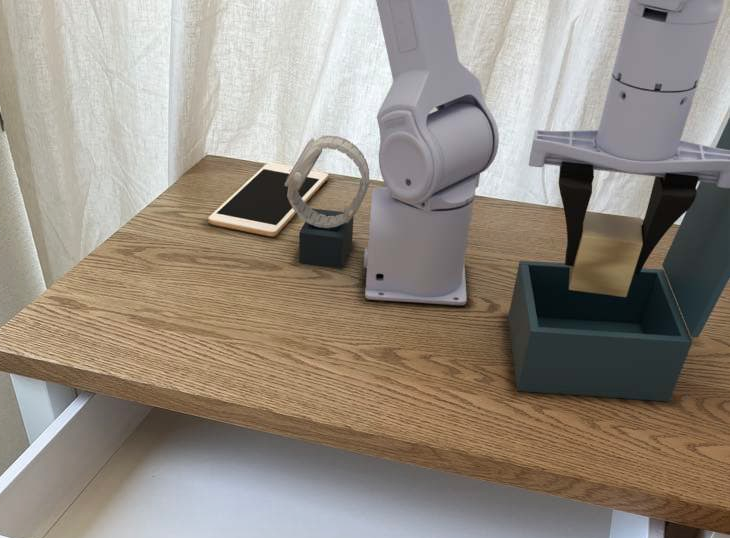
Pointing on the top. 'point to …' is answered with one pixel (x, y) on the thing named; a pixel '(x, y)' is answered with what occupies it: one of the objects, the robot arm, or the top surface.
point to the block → (606, 254)
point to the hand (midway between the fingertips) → (602, 264)
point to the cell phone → (264, 201)
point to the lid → (701, 252)
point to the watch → (324, 227)
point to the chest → (595, 336)
